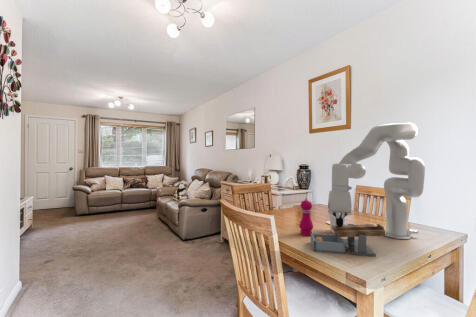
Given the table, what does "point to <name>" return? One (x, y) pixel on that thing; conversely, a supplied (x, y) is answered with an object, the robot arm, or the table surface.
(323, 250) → the bin
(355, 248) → the stand
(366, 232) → the tray
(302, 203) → the pepper mill
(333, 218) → the cup
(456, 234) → the table surface
